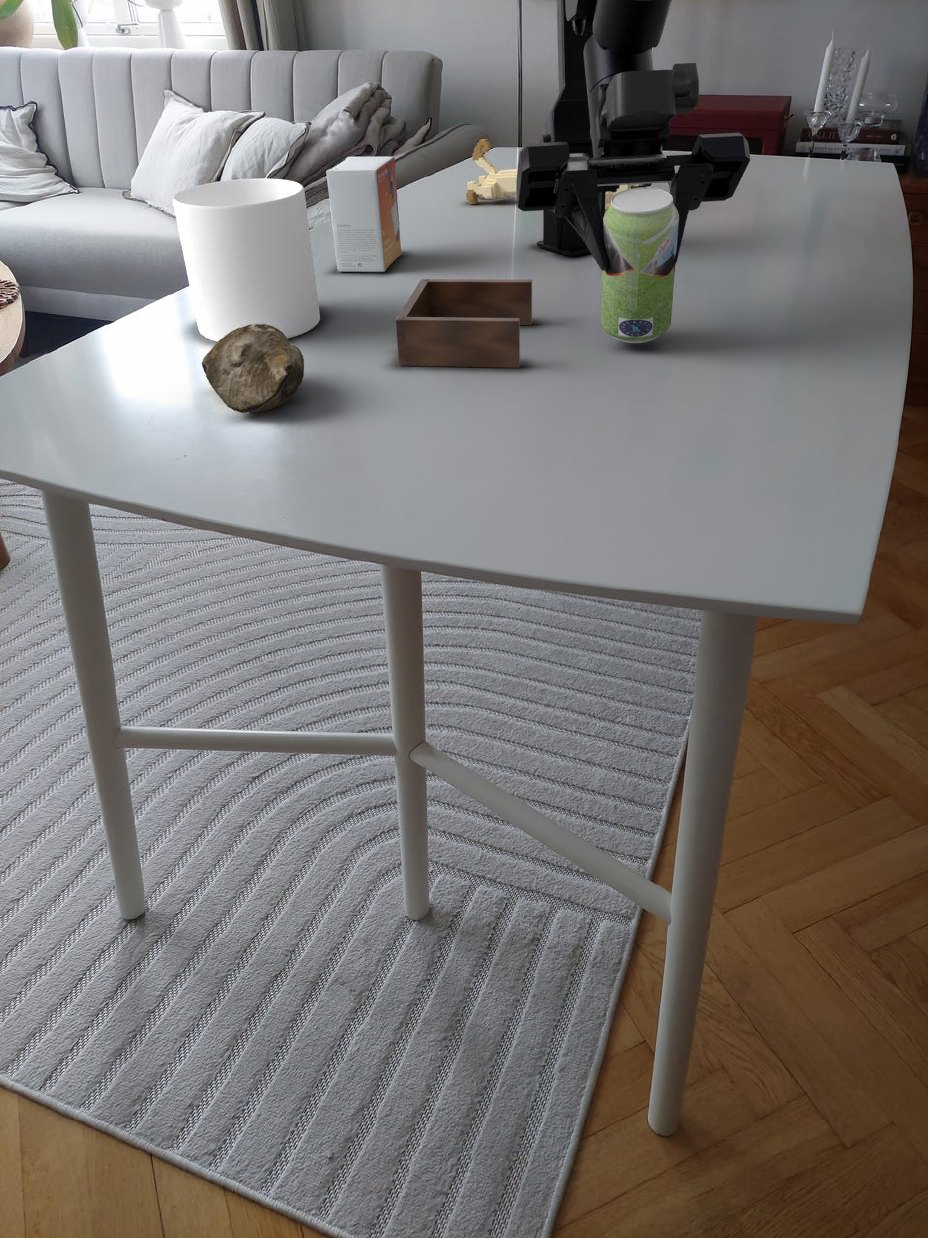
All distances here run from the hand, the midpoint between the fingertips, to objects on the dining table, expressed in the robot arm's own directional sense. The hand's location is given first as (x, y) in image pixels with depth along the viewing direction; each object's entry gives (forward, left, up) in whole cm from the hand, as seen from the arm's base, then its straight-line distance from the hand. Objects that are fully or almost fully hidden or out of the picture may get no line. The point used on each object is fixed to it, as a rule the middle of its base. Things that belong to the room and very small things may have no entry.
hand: (639, 265), depth 79 cm
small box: (+3, -40, -7) cm, 41 cm away
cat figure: (-30, -46, -7) cm, 56 cm away
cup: (+22, -29, -7) cm, 37 cm away
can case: (+10, -11, -7) cm, 16 cm away
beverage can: (-1, -1, -7) cm, 7 cm away
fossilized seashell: (+30, -12, -7) cm, 33 cm away
